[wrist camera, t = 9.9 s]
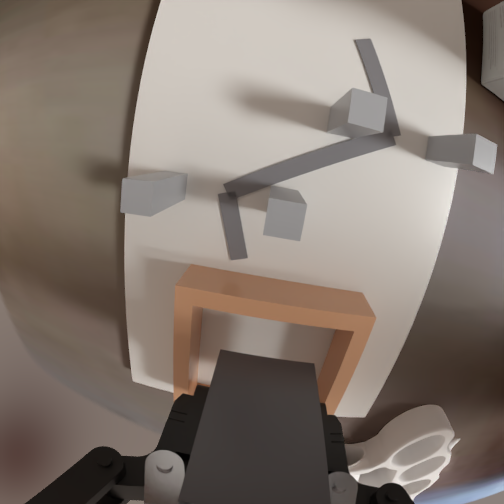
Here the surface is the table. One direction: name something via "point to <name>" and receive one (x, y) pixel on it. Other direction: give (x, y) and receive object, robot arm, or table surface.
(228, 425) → the dark grey block
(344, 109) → the board
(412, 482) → the white brass knuckles
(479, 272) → the table surface
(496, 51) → the small box
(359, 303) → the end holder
